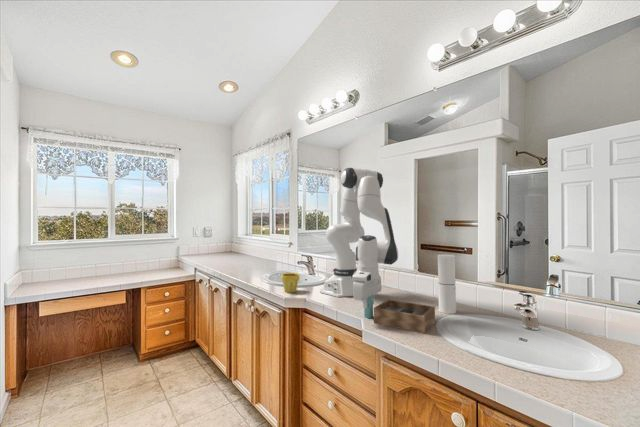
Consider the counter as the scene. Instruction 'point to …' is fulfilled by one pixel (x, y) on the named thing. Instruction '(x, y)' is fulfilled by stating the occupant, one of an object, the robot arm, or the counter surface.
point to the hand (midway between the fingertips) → (368, 306)
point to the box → (405, 315)
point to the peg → (369, 308)
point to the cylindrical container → (446, 284)
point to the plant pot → (290, 282)
